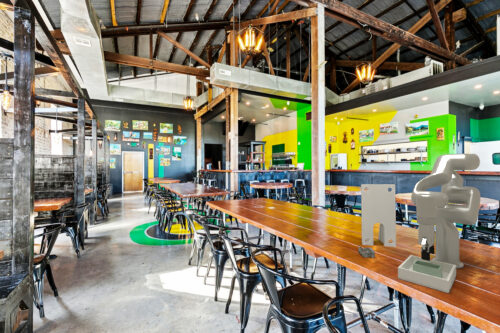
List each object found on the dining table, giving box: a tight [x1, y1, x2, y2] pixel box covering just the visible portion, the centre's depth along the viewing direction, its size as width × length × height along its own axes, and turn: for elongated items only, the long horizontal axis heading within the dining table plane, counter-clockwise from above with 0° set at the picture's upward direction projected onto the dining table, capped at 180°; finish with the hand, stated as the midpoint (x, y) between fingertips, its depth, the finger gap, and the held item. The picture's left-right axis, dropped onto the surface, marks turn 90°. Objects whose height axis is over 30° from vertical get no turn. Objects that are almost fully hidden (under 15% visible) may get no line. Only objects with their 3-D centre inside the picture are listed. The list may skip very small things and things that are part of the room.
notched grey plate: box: [360, 183, 397, 248], centre depth 160 cm, size 20×14×40 cm
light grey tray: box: [397, 254, 457, 294], centre depth 109 cm, size 22×18×5 cm
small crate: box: [413, 260, 443, 278], centre depth 109 cm, size 6×10×5 cm, turn 43°
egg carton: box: [357, 244, 376, 259], centre depth 138 cm, size 11×8×4 cm
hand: (428, 256), depth 110 cm, fingers open, 9 cm apart
